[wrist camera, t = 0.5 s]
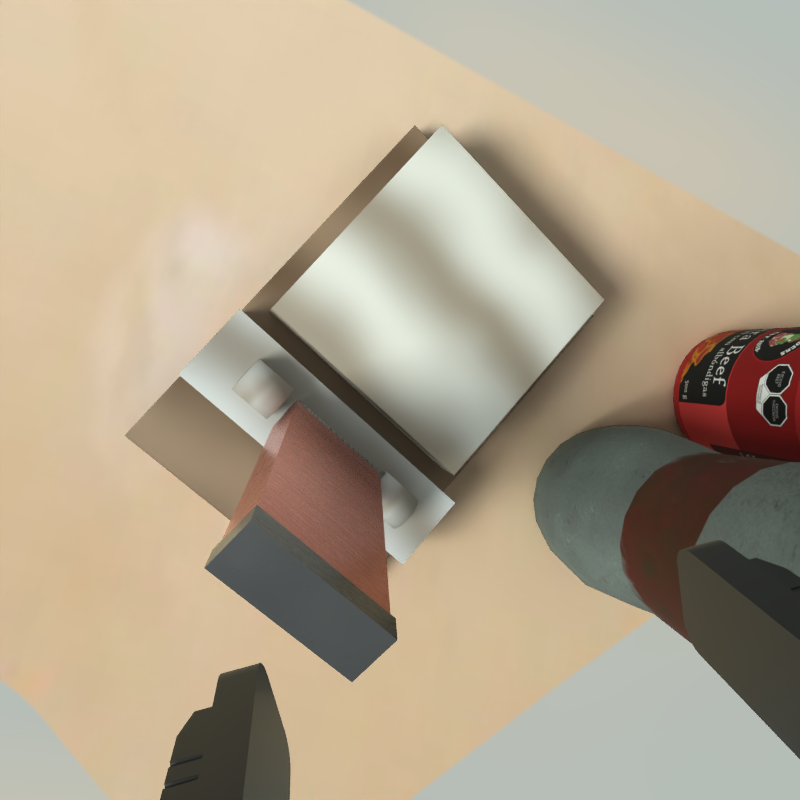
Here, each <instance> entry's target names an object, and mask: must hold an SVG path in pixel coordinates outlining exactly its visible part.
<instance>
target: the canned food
mask: <svg viewBox="0 0 800 800" xmlns="http://www.w3.org/2000/svg"><path fill="white" fill-rule="evenodd" d="M673 401H674V409H675V414H676V417H677V421H678V424H679V426H680V428H681V429H682V431H683V433H684V435H685V436H686V437H687V438H688V440H691V441H693V442H696V443H698V444H700V445H702V446H705V447H707V448H709V449H712V450H714V451H716V452H719V453H721V454H725V455H734V456H743V457H752V458H760V459H769V460H778V461H787V462H800V327H794V328H775V329H757V330H738V331H728V332H723V333H719V334H717V335H715V336H712V337H710V338H708V339H706V340H704V341H702V342H701V343H699V344H698V345H697V346H695V347H694V348H693V349H692V350H691V351H690V353H689V354H688V355H687V356H686V357H685V359H684V361H683V362H682V364H681V366H680V368H679V371H678V374H677V376H676V380H675V385H674V399H673Z"/></svg>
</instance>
